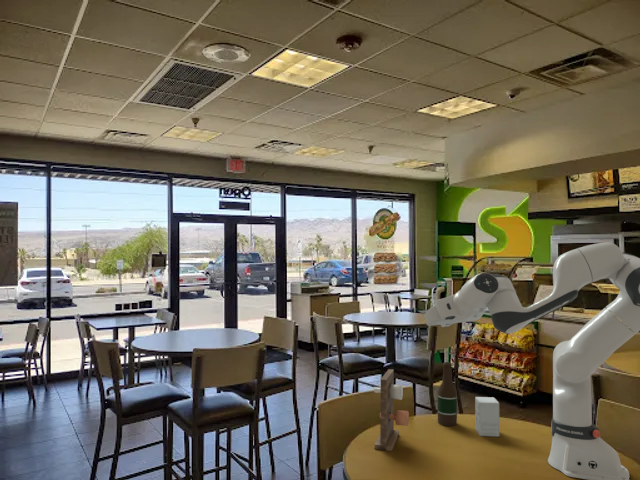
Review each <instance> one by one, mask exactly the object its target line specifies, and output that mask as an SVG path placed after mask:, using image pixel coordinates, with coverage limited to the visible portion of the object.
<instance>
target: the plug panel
mask: <svg viewBox="0 0 640 480" xmlns="http://www.w3.org/2000/svg"><path fill="white" fill-rule="evenodd" d="M394 375H395V370H394V369H392V368H391V369H390V368H388V369H387V371H386V372H385V373H384V374H383V376H382V377H381V378H380V388H381V393H380V413H379V419H380V421H379V422H380V424H379V425H380V431H379V433H380V434H379V435H378V437H377V439H376V441H375V442H374V450H381V451H389V452H393V450H394V447H395V445H396V443H397V441H398V437H399V436H400V431H399V430H397V429H394V422H395V420H393V419H389V414H394V412H395V411H394V405H395V403H394V401H395V399H390V394H389V389H390V385H391V384H394V382H395V380H394V379H395V378H394Z"/></svg>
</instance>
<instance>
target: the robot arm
mask: <svg viewBox="0 0 640 480" xmlns="http://www.w3.org/2000/svg"><path fill="white" fill-rule="evenodd" d="M604 279H607V280H608V281H609V282H611V284H613V285H614V287H616V288H617V289H619V291H618V294H617V297H616V298H615V299H614V300H613V301H611V302H610V303H609V304H607V305H606V306H605V307H604V308H603V309H601V310H600V311H599V312H598V313H597V314H596V315H595V316H593V317H592V318H591V319H589V320H588V322H586V323H585V324H584V325H583V326H582V328H580V329H579V331H578V332H577V333H575V334H574V336H572V337H571V338H570V339H569V340H564V341H561V342H559V343H558V344H557V345H556V346H555V347H554V350H553V353H552V376H553V377H552V418H551V425H550V426H551V427H550V428H551V429H550V430H551V431H550V432H551V436H552V437H551V438H552V439H551V447H550V452H549V456H548V459H547V463H548V464H549V465H550V466H551V467H553V468H554V469H556V470H558V471H560V472H561V473H563V474H564V475H565V476H567V477H571V478H575V479H576V478H577V479H583V480H630V479H629V478H631V477H630V472H629V470H628V469H627V468H626V467H625V466H624V465H622V463H621V459H620V456H619V454H618V452H617V450H615V449H614V448H613V447H612V446H611V445H610V444H608V443H607V442H606V441H604V439H603V438H601V431H600V428H599V425H598V424H594V423H593V419H592V417H593V414H592V413H593V411H592V410H593V409H592V403H593V401H592V398H593V397H592V382H591V380H592V377H591V375H592V374H594V373H595V372H596V371H597V370H598V369H599V368H600V367H601V366H602V365H603V364H604V363H605V362H606V361H607V360H608V359H609V358H610V357H611V355H612V354H614V353H615V351H617V350H618V349H619V348H620V347H622V346H623V345H624V344H625V343H627V342H628V341H629V340H630V339H631V338H633V337H634V336H635V335H636V334H637V333H639V332H640V257H638V256H636V255H634V254H632V253H629V252H624V251H622V250H621V248H620V247H619V246H618V245H616V244H615V243H613V242H609V241H606V242H605V241H604V242H599V243H593V244H587V245H584V246H582V247H581V246H579V247H577V248H575V249H571V250H569V251H567V252H564V253H562V254H560V255H559V256H558V257H557V258H556V260H555V261H554V263H553V268H552V284H553V286H552V287H553V289H552V291H551V293H550V294H549V295H548V296H547V297H545V298H543V299H540V300H538V301H536V302H535V303H533V304H530V305H528V306H526V307H523V305H522V303H521V301H520V299H519V297H518V295H517V291H516V289H515V288H514V286H513V283H512V280H511V279H510V278H509V277H507V276H505V275H503V274H498V273H488V272H480V273H478V274H476V275H474V276H472V277H471V278H470V279H469V280H467V281H466V282H465V283H464V285H463V286H461V288H460V289H459V290H457V292H455V294H451V295H449V296H447V297H444V298H443V297H442V298H440V299H437V300H435V302H434V303H435V304H434V305H433V306H431V307H430V308H429V309H428V310H427V311H426V313H424V321H425V324H426V326H430V327H431V326H432V327H433V326H437V325H439V326H440V327H441V328H445V327H450V326H451V325H454V324H456V323H457V324H458V323H467V322H468V323H469V322H475V321H478V320H480V319H481V318H482V316H483V315H485V310H486V309H488V312H489V315H490V318H491V321H492V325H493V328H494V329H495V330H497V331H499V332H501V333H502V334H506V335H508V334H513V333H514V334H515V333H517V332H519V331H520V330H521V329H523V328H525V327H527V326H528V325H530V324H532V323H534V322H535V321H538V320H540V319H541V318H544V317H546V316H548V315H549V314H552V313H553V312H555V311H557V310H559V309H562V308H563V307H565V306H566V305H568V304H569V303H570V304H571V303H572V302H573V301H574V300H575V299H577V297H578V295H579V291H580V290H581V289H582V288H583V287H585V286H586V285H589V284H591V283H594V282H598V281H601V280H604Z"/></svg>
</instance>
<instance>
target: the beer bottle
mask: <svg viewBox="0 0 640 480" xmlns="http://www.w3.org/2000/svg"><path fill="white" fill-rule="evenodd" d="M442 366H443V369H442V381H441V383H440V385H439V387H438V390H437V423H438V424H439V425H441V426H444V427H454V426H456V425H457V422H458V395H457V394H458V393H457V389H456V385H454V382H453V378H452V377H453V375H452V373H453V371H452V367H453V363H451V362H450V361H445V362H443V363H442Z"/></svg>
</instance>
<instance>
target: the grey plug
mask: <svg viewBox="0 0 640 480" xmlns="http://www.w3.org/2000/svg"><path fill="white" fill-rule="evenodd" d="M403 386H404V385H402V384H391V385H390V389H389V394H390V399H394V400H398V401H399V400H400V401H402V400H403V394H404V387H403ZM373 392H374V393H377V394H378V393H379V394H381V387H376V386H374V387H373Z"/></svg>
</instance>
